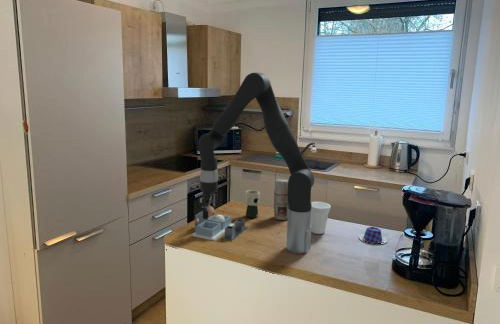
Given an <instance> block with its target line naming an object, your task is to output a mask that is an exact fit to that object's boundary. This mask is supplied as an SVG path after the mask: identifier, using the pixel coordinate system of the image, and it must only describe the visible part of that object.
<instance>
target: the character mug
mask: <svg viewBox="0 0 500 324" xmlns="http://www.w3.org/2000/svg"><path fill="white" fill-rule="evenodd" d="M260 193H261V192H260V191H259V190H257V189H256V190H255V189H247V190H245V201H244V203H245V205H247V206H246V211H245V215H246V217H249V218H257V217H258V216H259V208H258V206H259V204H260V196H261V194H260Z"/></svg>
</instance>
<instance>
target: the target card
mask: <svg viewBox="0 0 500 324" xmlns="http://www.w3.org/2000/svg"><path fill="white" fill-rule="evenodd" d="M209 218H210V217H208V219H209ZM204 221H207V219H203V211H202V210H201V211H199V212H198V213H197V214H195V215H194V233H195V232H196V226H198V225H199V224H201V223H202V222H204Z"/></svg>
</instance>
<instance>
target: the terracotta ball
mask: <svg viewBox="0 0 500 324" xmlns="http://www.w3.org/2000/svg"><path fill="white" fill-rule="evenodd" d="M213 214H214V215H215V207H214V208H213V207H212V206H209V208H208V217H209V218H210V217H212V215H213ZM214 215H213V216H214Z"/></svg>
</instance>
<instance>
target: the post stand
mask: <svg viewBox="0 0 500 324" xmlns="http://www.w3.org/2000/svg"><path fill="white" fill-rule="evenodd" d="M245 223H246V219H242V218H237V219H235V220H234V224H235V225H234V226H227V227H226V228H225V233H224V235H223V236H222V237H221V239H222V240H226V241H231V242H232V241H234V240H235V239H236V238H238V237H239V236H240V235H242V234H243V232H245V231H246V230H247V229H248V227H247V226H246V225H245Z"/></svg>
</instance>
